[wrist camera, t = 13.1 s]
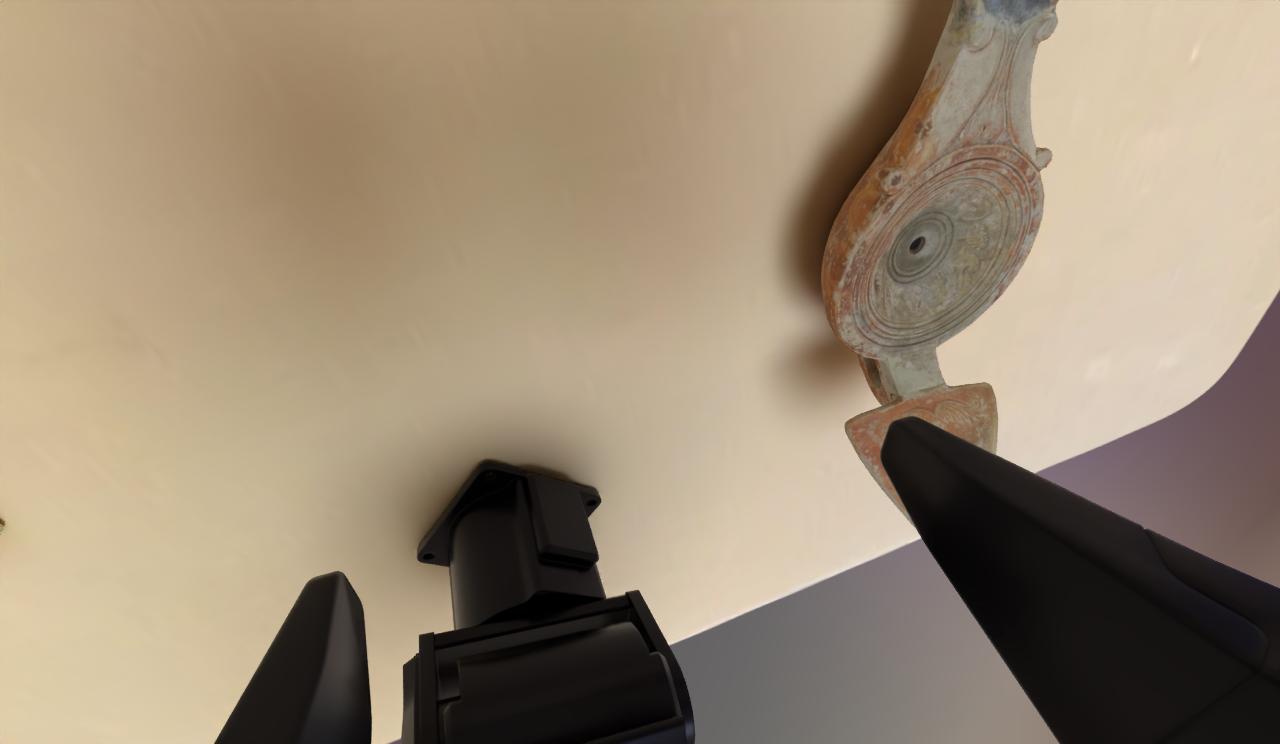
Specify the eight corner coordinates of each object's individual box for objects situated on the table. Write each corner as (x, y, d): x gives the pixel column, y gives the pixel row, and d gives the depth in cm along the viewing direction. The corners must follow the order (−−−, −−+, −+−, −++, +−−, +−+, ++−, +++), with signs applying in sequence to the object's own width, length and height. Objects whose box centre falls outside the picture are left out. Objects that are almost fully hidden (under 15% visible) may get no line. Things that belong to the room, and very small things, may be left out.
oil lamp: (756, 422, 30) (875, 599, 23) (854, -142, 16) (1230, -154, 9) (904, 387, 32) (1057, 539, 25) (1100, -140, 18) (1569, -148, 11)
